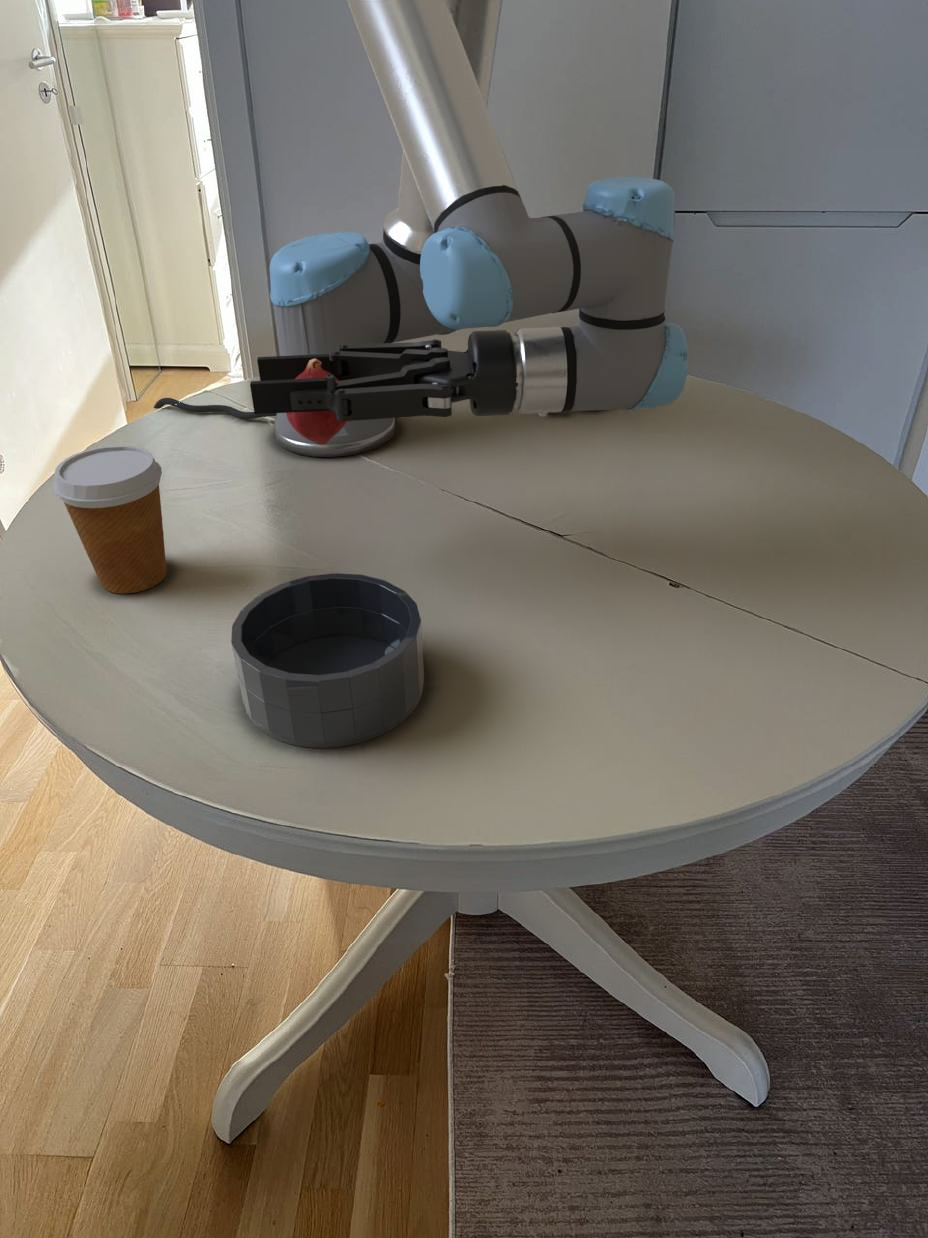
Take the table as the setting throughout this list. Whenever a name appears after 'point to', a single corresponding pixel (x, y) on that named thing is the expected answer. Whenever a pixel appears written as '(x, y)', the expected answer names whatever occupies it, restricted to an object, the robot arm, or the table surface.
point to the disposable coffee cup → (116, 514)
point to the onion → (315, 413)
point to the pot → (329, 659)
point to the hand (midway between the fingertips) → (256, 384)
